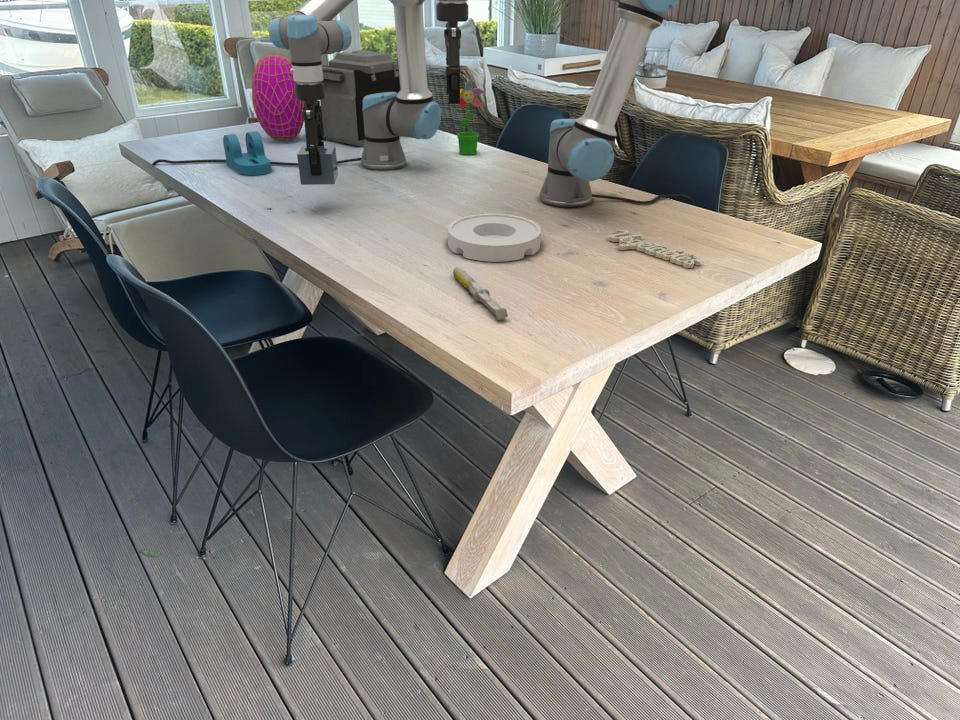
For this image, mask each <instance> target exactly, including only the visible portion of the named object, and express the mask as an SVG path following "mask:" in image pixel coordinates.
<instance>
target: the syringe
mask: <svg viewBox="0 0 960 720" xmlns="http://www.w3.org/2000/svg"><path fill="white" fill-rule="evenodd" d="M452 274H453V277H454V279H455V280H457V281H458V282H459V283H460V285H462V287H464V289H466V290H467V291H468V293H470V295H471V296H472V298H473V300H474V302H477V303H478V302H480V303H482V304H483V305H484V306H485V307H486V308H487V309H488V310H489V311H490V312H491V313H492V314H493V315H494V316H495V317H496V320H497V321H503V320H504V319H506V318H507V317H509V314H508V310H507V308H506V307H502V306H501V305H500V303H498V302H497V301H496V300H494V299H493V298H492V297H491V296H490V295H491V293H490V290H488V289H486V288H483V287H482V286H481V285H480V284H479V283H478V282H477V281H476V280H474V278H473V277H471V275H469V274H468V273H467V272H466V270H465V269H464V268H463V267H462V266H456V267H454V268H453V271H452Z"/></svg>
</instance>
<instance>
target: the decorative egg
mask: <svg viewBox="0 0 960 720" xmlns="http://www.w3.org/2000/svg"><path fill="white" fill-rule="evenodd" d="M290 69H292V63H291V59H288V58H287V57H285V56H282V55H280V54H268V55H265V56H262V57H261V58H260V59H259V60H258V61H257V62H256V65H255V68H254V69H253V70H254V71H253V73H252V77H251V101H252V107H253V110H254V114H255V116H256V118H257V121H258V123H259V125H260V127H261V128H262V130H263V131H264V133H266V135H267V136H268V137H270V138H271V139H273V140H275V141H282V142H286V141H291V140H293V139H296V138H297V137H298V136H299V134H301V131H302V129H303V127H304V124H305V123H304V115H303V107H305V101H303V100H298V99H297V98H296V96H295V88H294V85H295V83H297V82H295V81H294V78H293V73H291V72H290Z"/></svg>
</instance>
